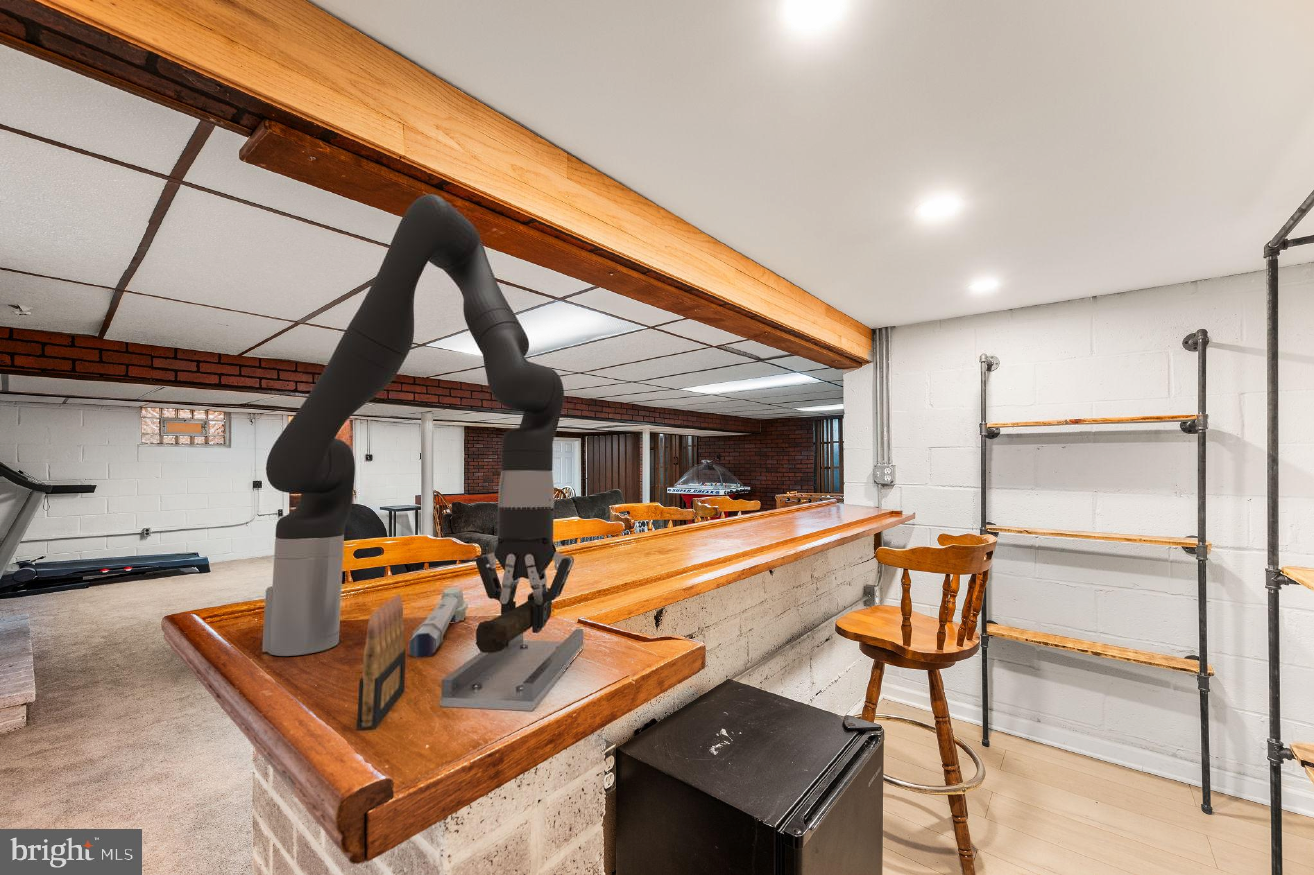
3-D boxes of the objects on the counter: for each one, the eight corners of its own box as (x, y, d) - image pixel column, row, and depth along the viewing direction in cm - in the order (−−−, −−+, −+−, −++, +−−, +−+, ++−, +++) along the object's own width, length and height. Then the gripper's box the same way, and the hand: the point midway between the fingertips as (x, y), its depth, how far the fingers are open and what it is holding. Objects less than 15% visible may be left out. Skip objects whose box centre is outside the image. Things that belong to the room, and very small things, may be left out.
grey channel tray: (440, 706, 62) (441, 679, 62) (515, 646, 85) (515, 627, 85) (532, 711, 61) (533, 683, 61) (583, 649, 83) (583, 629, 84)
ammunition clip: (388, 691, 66) (392, 592, 67) (404, 690, 67) (408, 592, 68) (356, 730, 56) (361, 612, 57) (375, 729, 56) (380, 612, 57)
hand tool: (504, 656, 63) (505, 615, 64) (473, 653, 64) (475, 613, 65) (567, 617, 82) (567, 586, 82) (543, 616, 83) (543, 585, 83)
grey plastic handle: (403, 633, 79) (441, 579, 103) (403, 677, 79) (441, 613, 104) (440, 631, 80) (469, 579, 104) (440, 675, 80) (469, 612, 105)
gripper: (465, 504, 72) (461, 637, 70) (568, 505, 70) (566, 640, 69) (489, 502, 79) (485, 622, 78) (582, 503, 78) (581, 625, 76)
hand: (523, 630), depth 73 cm, fingers closed on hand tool, 3 cm apart
